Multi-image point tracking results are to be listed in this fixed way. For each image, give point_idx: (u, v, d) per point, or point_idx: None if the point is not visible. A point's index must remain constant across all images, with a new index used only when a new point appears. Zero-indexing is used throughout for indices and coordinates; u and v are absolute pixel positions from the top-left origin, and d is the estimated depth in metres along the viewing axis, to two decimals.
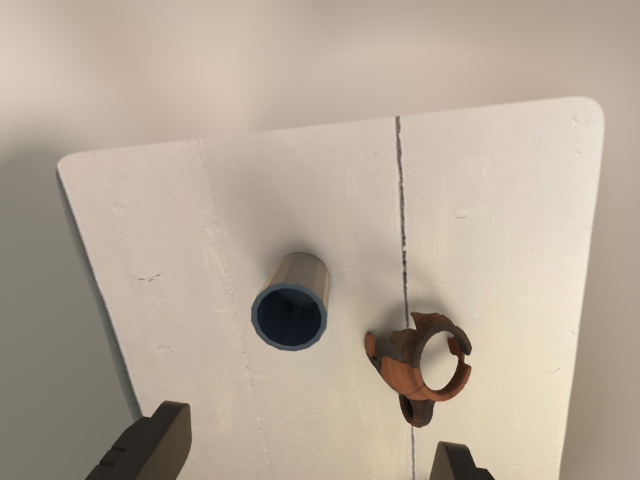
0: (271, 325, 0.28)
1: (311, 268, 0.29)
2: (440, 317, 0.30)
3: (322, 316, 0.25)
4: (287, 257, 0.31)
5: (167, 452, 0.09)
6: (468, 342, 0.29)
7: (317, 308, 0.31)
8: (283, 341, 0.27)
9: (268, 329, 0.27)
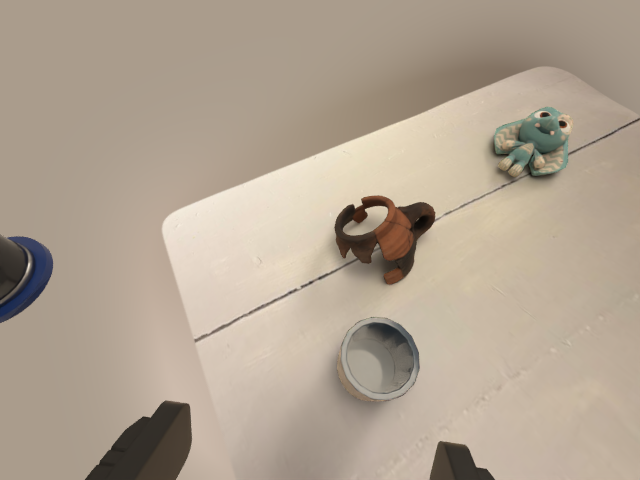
0: (406, 373, 0.26)
1: (338, 358, 0.29)
2: (336, 236, 0.36)
3: (362, 324, 0.26)
4: (346, 389, 0.30)
5: (167, 452, 0.09)
6: (344, 209, 0.37)
7: (378, 336, 0.31)
8: (410, 352, 0.26)
9: (408, 373, 0.25)
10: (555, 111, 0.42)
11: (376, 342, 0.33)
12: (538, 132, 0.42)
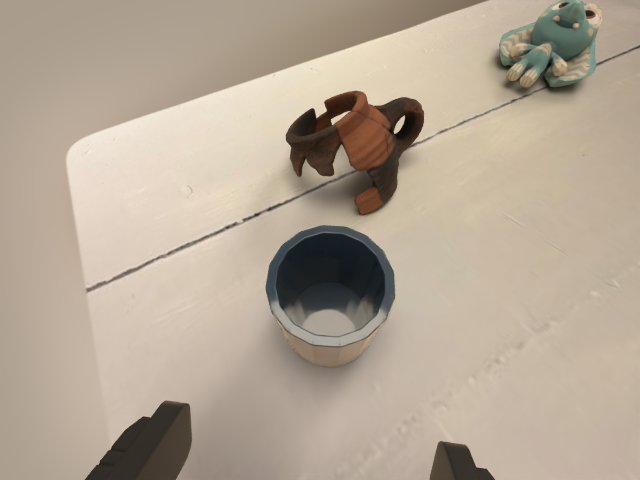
0: (376, 311, 0.16)
1: None
2: None
3: (305, 236, 0.16)
4: (294, 349, 0.20)
5: (167, 452, 0.09)
6: (301, 115, 0.27)
7: (341, 272, 0.21)
8: (381, 276, 0.16)
9: (377, 309, 0.15)
10: None
11: (342, 286, 0.23)
12: (557, 27, 0.32)
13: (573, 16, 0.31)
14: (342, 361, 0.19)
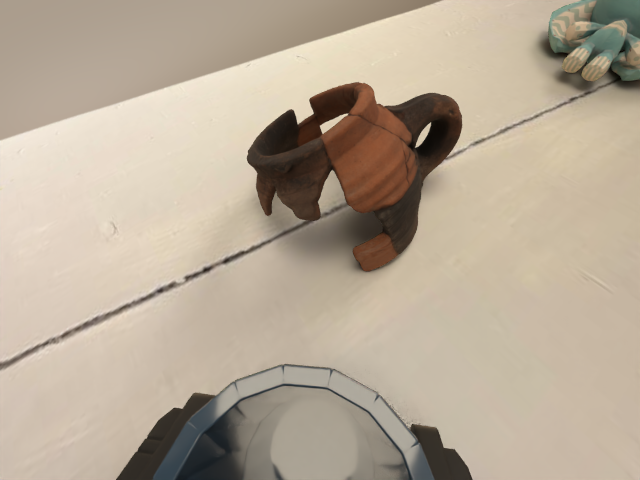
0: None
1: None
2: (258, 173, 0.18)
3: (243, 394, 0.07)
4: None
5: None
6: None
7: (330, 398, 0.12)
8: None
9: None
10: None
11: (332, 404, 0.14)
12: None
13: None
14: None
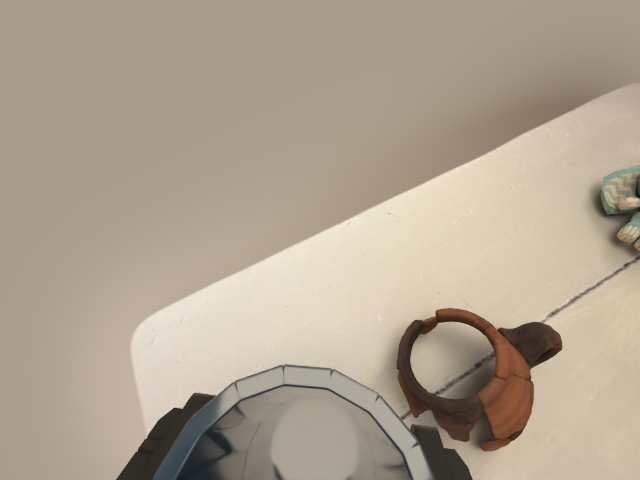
0: None
1: None
2: (400, 374, 0.23)
3: (243, 395, 0.07)
4: None
5: None
6: (409, 329, 0.23)
7: (331, 398, 0.12)
8: None
9: None
10: None
11: (332, 405, 0.14)
12: None
13: None
14: None
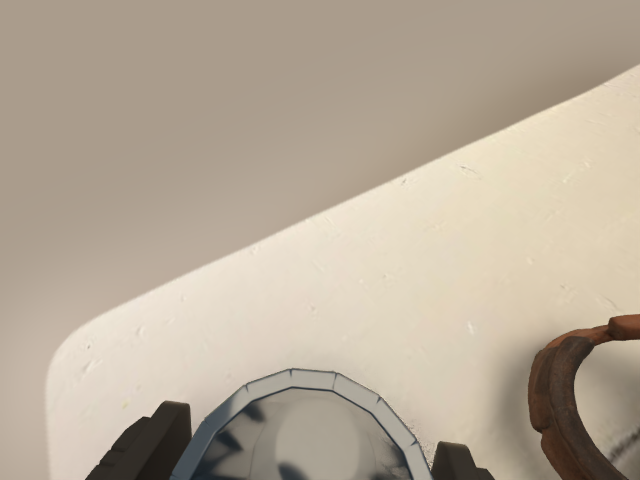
0: None
1: None
2: (551, 443, 0.12)
3: (254, 397, 0.08)
4: None
5: (167, 452, 0.09)
6: (563, 353, 0.12)
7: (334, 399, 0.12)
8: None
9: None
10: None
11: (335, 405, 0.14)
12: None
13: None
14: None
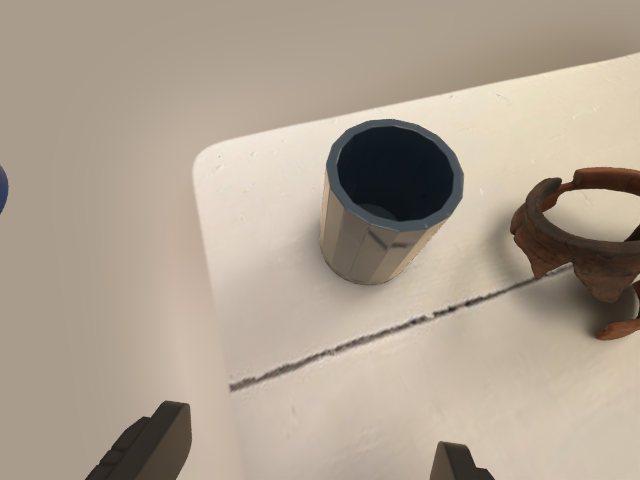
0: None
1: None
2: (520, 233, 0.19)
3: (373, 125, 0.15)
4: (328, 258, 0.20)
5: (167, 452, 0.09)
6: (540, 185, 0.19)
7: (391, 190, 0.20)
8: (448, 179, 0.15)
9: None
10: None
11: (384, 211, 0.22)
12: None
13: None
14: (378, 274, 0.18)
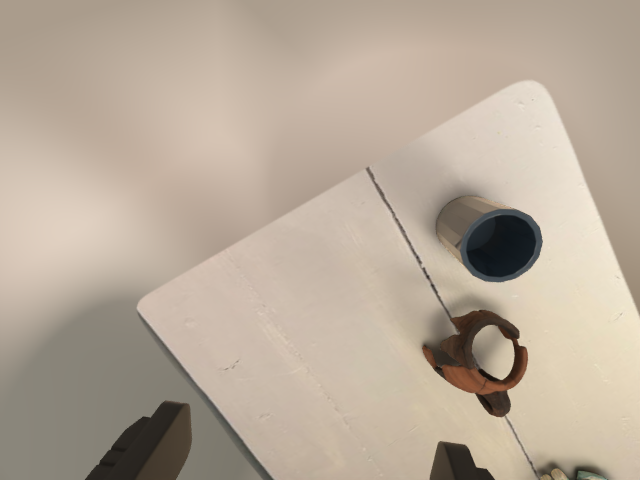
0: (475, 266, 0.28)
1: (487, 201, 0.29)
2: (478, 313, 0.33)
3: (535, 231, 0.25)
4: (449, 206, 0.32)
5: (167, 452, 0.09)
6: (513, 327, 0.32)
7: (502, 240, 0.30)
8: (499, 274, 0.27)
9: (478, 269, 0.27)
10: None
11: (490, 235, 0.32)
12: None
13: None
14: (442, 237, 0.31)
